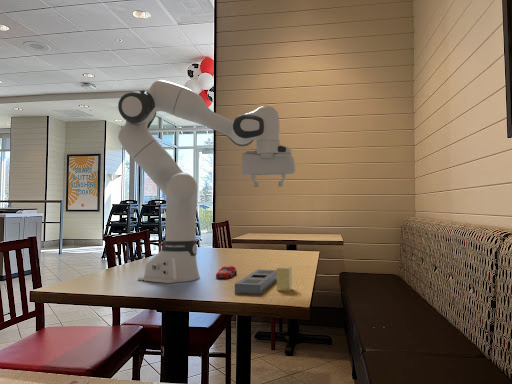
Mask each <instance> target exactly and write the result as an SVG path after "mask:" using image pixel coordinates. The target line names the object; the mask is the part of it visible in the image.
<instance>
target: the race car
mask: <svg viewBox="0 0 512 384" xmlns="http://www.w3.org/2000/svg"><path fill="white" fill-rule="evenodd" d="M237 272H238V271H237V268H236V267H235V266H232V265H224V266H222V267H221V268H220V269H218V271H217V272H216V274H215V279H219V280H220V279H222V280H223V279H224V280H225V279H226V280H229V279H231V278H232V277H234V276H236V275H237Z"/></svg>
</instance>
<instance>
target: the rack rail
mask: <svg viewBox="0 0 512 384" xmlns="http://www.w3.org/2000/svg"><path fill="white" fill-rule="evenodd" d="M276 282H277V269H257V270H256V269H255V271H253V272H251V273H250V274H248V275H247V276H245V277H243V278H242V279H240V280H238V281H237V282H235V283H234V294H236V295H253V296H260V295H262V294H263V293H265V292H266V290H268V288H270V287H271V286H272V285H274V283H276Z"/></svg>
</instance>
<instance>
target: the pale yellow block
mask: <svg viewBox="0 0 512 384" xmlns="http://www.w3.org/2000/svg"><path fill="white" fill-rule="evenodd" d="M276 270H277V281H276V291H279V292H290V291H291V290H292V289H293V287H292V285H293V284H292V281H293V280H292V266H278V267H277V268H276Z"/></svg>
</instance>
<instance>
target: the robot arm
mask: <svg viewBox="0 0 512 384" xmlns="http://www.w3.org/2000/svg"><path fill="white" fill-rule="evenodd" d="M117 105H118V106H117V107H118V109H117V110H118V113H119V115H120V117H122V118H123V119H124V120H125V124H124V125H123V126H122V127H121V128H120V130H119V132H118V135H117V139H118V141H119V142H120V145H121V146H122V147H123V149H124V150H125V152H127V154H128V155H129V157H130V158H131V159H132V160H133V161H134V162H135V163H136V164H137V165H138V166H139V167H140V168H141V169H142V171H143V172H144V173H145V174H146V175H147V176H148V177H149V179H150V180H151V181H153V183H154V184H155V185H156V187H158V189H159V190H160V191H161V192H162V194H164V195H165V196H166V200H165V201H166V202H165V240H164V241H162V242H160V243H158V244H159V246H158V247H161V249H160V250H159V252H158V253H157V254H155V255H154V256H152V257H151V258H150V259H149V260H148V261H147V262H146V264H145V267H144V273H143V274H141V275H139V276H138V277H137V279H138V281H143V280H144V281H145V282H153V283H164V284H174V283H179V282H180V283H181V282H189V281H190V282H191V281H195V280H199V279H200V278H201V276H200V273H199V268H198V263H197V255H198V254H197V252H198V245H197V243H198V241H197V239H196V232H197V231H196V229H197V228H196V227H197V226H196V223H197V220H196V219H197V205H198V204H197V203H198V184H197V181H196V179H195V178H194V176H192V175H191V174H189V173H186V172H184V171H183V170H182V169H181V167H180V166H179V165H178V164H177V163H176V161H175V160H174V159H173V157H172V156H171V154H170V153H169V152H168V151H167V150H166V149H165V148H164V146H163V145H162V144H160V142H159V141H158V140H157V139H156V138H155V137H154V136H153V134H151V132H150V131H149V128H150V127H151V125H152V123H153V122H154V120H155V118H156V116H157V112H164V113H166V114H169V115H170V116H171V115H172V116H174V117H176V118H180V119H182V120H186V121H189V122H193V123H195V124H199V125H202V126H204V127H206V128H209V129H210V130H212V131H215V132H217V133H219V134H221V135H224V136H225V137H226V138H228V139H229V140H230V141H231V142H232V143H233V144H234V145H236V146H239V147H247V146H249V145H251V144H252V143H253V142H254V140H255V141H256V144H255V145H256V147H255V148H256V150H246V151H245V152H243V153H242V154H241V162H242V163H241V174H242V175H243V176H250V179H251V181H252V182H253V187H254V188H259V185H260V184H259V183H260V182H258V181H257V180H256V178H257V176H269V175H270V176H272V175H273V176H274V175H281V176H280V177H281V180H280V181H278V187H283V186H284V182H285V180H286V178H287V175H294V174H295V173H296V162H295V159H294V156H293V155H292V154H293V150H292V148H291V147H289V146H286V145H282V144H280V143H281V142H280V136H279V135H280V131H281V128H280V117H279V113H278V110H277V109H275V108H273V107H271V106H268V105H265V106H263V105H262V106H259V107H258V108H257V109H255V110H253V111H250V112H247V113H244V114H239V115H238V116H236V117H235V118H234V120H232V119H229V118H227V117H225V116H223V115H220V114H219V113H216V112H215V111H213V110H212V109H210V107H209V106H208V105H207V104H206V103H205V101H204V99H203V97H202V96H201V95H199V94H198V93H197V92H196V91H194V90H192V89H190V88H188V87H185V86H183V85H181V84H177V83H174V82H170V81H166V80H163V79H158V80H155V81H154V82H153V83H151V86H150V87H149V89H148V91H147V90H144V89H143V90H138V91H130V92H126V93H125V94H123V95H122V96H121V97H120V98H119V100H118V103H117Z"/></svg>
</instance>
